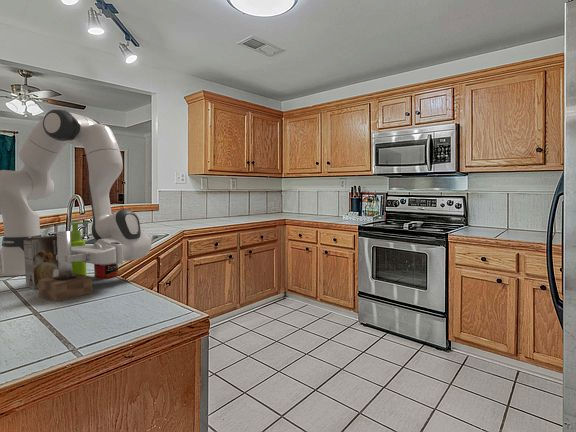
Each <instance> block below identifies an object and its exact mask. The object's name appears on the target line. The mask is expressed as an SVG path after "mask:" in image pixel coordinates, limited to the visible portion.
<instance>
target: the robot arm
mask: <svg viewBox="0 0 576 432" xmlns="http://www.w3.org/2000/svg"><path fill="white" fill-rule="evenodd" d="M67 144H70V145H73V146H81V147H83V149H84V153H85V157H86V161H87V167H88V190H89V191H88V193H89V199H90V205H91V207H90V208H91V212H92V225H91V234H92V236H93V238H94V239H95V242H94V243H92V245H90V246H89V245H85V246H73V247H71V254H72V255H69V256H65V261H66V262H76V261H79V262H85V263H86V264H93V265H94V264H99V265H101V266H105V265H111V264H118V265H122V264H123V263H124V262H129V261H130V262H131V261H134V260H138V259H139V260H140V259H141V258H144V257H145V256H147V255H148V254H149V253H150V252H151V249H152V239H151V237H150V236H149V235H147V234H146V233H145V232H144V230H143V228H142V226H141V223H140V219H139V217H138V215H137V213H135V212H134V211H132V210H130V209H129V208H123V209H120V210H117V211H115V212H113V213H112V207H111V201H110V191H111V189H112V187H113V185H114V183H115V182H116V180H118V178H119V177H120V175H121V173H122V172H123V169H124V167H123V166H124V165H123V164H124V163H123V157H122V153H121V150H120V147H119V144H118V141H117V139H116V137H115V135H114V132H113V131H112V129H111V128H110V127H109V126H108V125H106V124H102V123H100V122H99V121H97V120H95V119H91V118H90V117H88V116H85V115H82V114H78V113H73V112H69V111H67V110H65V109H51V110H49V111H48V112H47V113H45V116H44V117H43V118H42V119H41V120H40V121H39V122H37V124H36V125H35V126H34V128H33V129H32V130H31V132H30V133H29V135H28V136H27V139H26V140H25V142H24V143H23V145H22V146H21V148H20V150H19V152H18V155H19V159H20V160H21V162H22V163H23V167H22V168H21V170H9V169H7V170H6V169H1V170H0V214H1V217H2V224H3V237H2V240H1V246H2V247H1V248H0V277H12V276H13V277H14V276H15V277H16V276H26V274H25V258H24V243H23V238H33V237H43V236H42V234H41V225H40V223H41V222H40V221H41V220H40V215H39V214H38V212H36V211H34V210H32V208H31V207H30V206H29V203H28V200H29V201H30V200H33V201H35V200H41V199H42V200H43V199H45V198H48V197H50V196H51V195H52V194H53V193H54V190H55V183H54V181H53V179H52V177H51V175H52V174H51V173H52V169H53V167H54V165H55V163H56V162H57V160H58V158H59V156H60V155H61V153H62V151H63V150H64V148H65V146H66V145H67ZM56 260H58V254H57V255H56Z"/></svg>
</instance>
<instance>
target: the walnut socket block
mask: <svg viewBox="0 0 576 432" xmlns="http://www.w3.org/2000/svg"><path fill="white" fill-rule="evenodd" d="M72 277H73V279H69V280H64V281H59V276H56V277H51V278H46V279H40V280H38V285H39V288H38V296H39V298H43V299H46V300H50V301H54V302H61V301H66V300H70V299H74V298H77V297H82V296H85V295H90V294H92V293H93V277H92V276H90V275H86V276H85V275H80V274H75V273H72Z"/></svg>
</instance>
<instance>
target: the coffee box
mask: <svg viewBox="0 0 576 432" xmlns="http://www.w3.org/2000/svg"><path fill="white" fill-rule="evenodd" d="M23 243H24V258H25V274H26V275H25V287H26V288H31V289H34V290H37V289H38V290H39V285H38V280H40V279H46V278H51V277H52V269H53V268H58V260H56V255H57V254H58V246H57V235H47V236H45V235H43V236H42V237H33V238H23Z"/></svg>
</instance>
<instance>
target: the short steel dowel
mask: <svg viewBox="0 0 576 432" xmlns="http://www.w3.org/2000/svg"><path fill="white" fill-rule="evenodd" d="M56 276H59V268H53V269H52V277H56Z"/></svg>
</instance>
